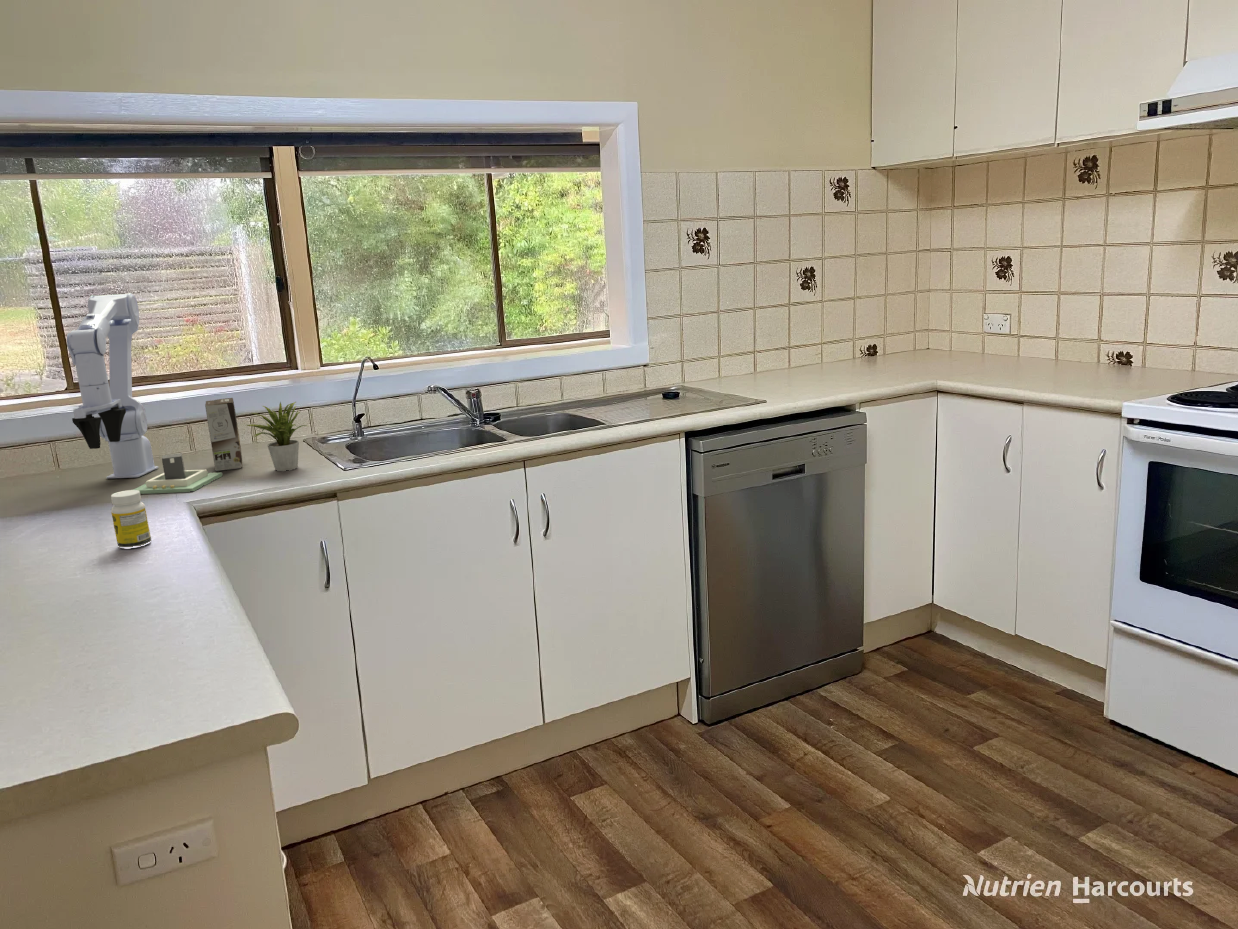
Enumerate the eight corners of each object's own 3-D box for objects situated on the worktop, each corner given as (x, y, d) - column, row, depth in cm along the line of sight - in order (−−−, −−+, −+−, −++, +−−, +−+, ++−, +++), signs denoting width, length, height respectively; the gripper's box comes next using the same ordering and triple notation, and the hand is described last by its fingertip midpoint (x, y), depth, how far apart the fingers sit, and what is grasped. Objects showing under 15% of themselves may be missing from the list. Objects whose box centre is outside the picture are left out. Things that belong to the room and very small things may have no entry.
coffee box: (243, 468, 227) (233, 402, 223) (214, 471, 225) (204, 405, 221) (243, 460, 235) (233, 396, 231) (215, 464, 233) (205, 399, 229)
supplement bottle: (120, 543, 172) (110, 491, 169) (153, 538, 174) (144, 487, 171) (116, 552, 167) (105, 499, 164) (150, 547, 169) (140, 494, 166)
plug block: (166, 480, 215) (162, 455, 213) (186, 478, 216) (181, 452, 215) (166, 484, 211) (161, 458, 210) (185, 482, 212) (181, 456, 211)
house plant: (272, 461, 233) (263, 395, 229) (326, 459, 231) (317, 393, 227) (244, 475, 219) (234, 406, 215) (302, 474, 217) (292, 404, 214)
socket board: (164, 478, 221) (163, 469, 220) (222, 475, 220) (221, 466, 220) (131, 494, 207) (129, 484, 207) (193, 491, 207) (191, 482, 206)
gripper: (96, 380, 214) (106, 439, 217) (55, 390, 200) (67, 452, 203) (126, 379, 214) (136, 437, 217) (87, 388, 200) (98, 451, 203)
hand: (105, 444), depth 210 cm, fingers open, 7 cm apart
